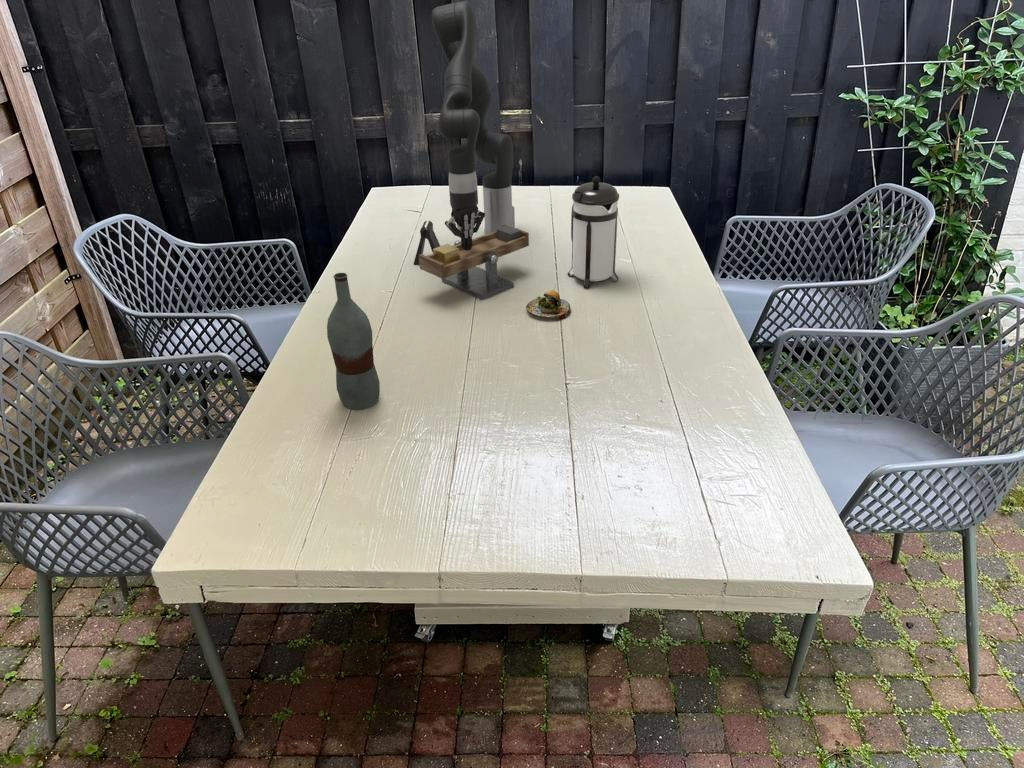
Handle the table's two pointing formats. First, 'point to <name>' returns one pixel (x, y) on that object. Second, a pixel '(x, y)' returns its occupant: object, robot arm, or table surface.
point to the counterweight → (508, 233)
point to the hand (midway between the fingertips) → (467, 249)
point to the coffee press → (594, 231)
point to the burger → (549, 306)
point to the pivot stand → (480, 279)
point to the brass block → (446, 254)
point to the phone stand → (426, 234)
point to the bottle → (352, 350)
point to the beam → (473, 254)
